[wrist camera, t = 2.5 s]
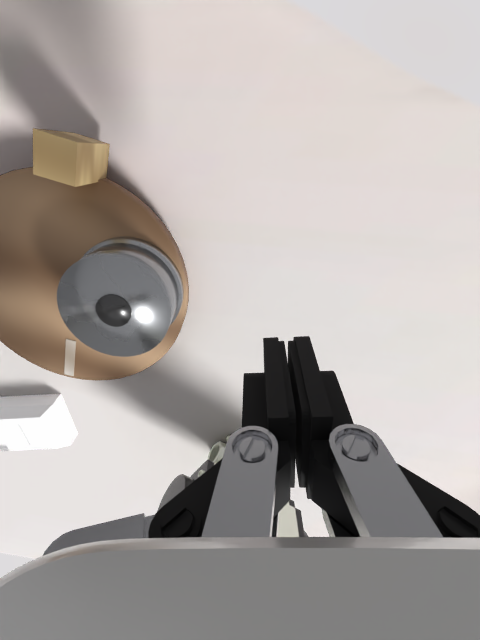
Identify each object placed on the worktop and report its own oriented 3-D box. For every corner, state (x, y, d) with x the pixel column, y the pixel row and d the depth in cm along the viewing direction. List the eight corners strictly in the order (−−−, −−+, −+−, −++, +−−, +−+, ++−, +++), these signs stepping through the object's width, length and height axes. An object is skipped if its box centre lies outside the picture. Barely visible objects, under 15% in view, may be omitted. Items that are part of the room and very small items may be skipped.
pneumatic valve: (269, 485, 34) (280, 636, 23) (174, 437, 31) (136, 588, 20) (304, 456, 32) (333, 608, 21) (205, 402, 29) (181, 550, 18)
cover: (96, 334, 23) (73, 363, 20) (67, 239, 20) (33, 255, 17) (190, 329, 23) (181, 358, 20) (175, 232, 20) (162, 248, 16)
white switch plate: (80, 430, 31) (66, 452, 29) (-9, 434, 32) (-30, 456, 29) (63, 390, 29) (47, 411, 27) (-33, 395, 29) (-57, 416, 27)
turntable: (167, 389, 27) (156, 425, 23) (-22, 344, 25) (-66, 376, 21) (218, 179, 19) (212, 185, 16) (-48, 93, 17) (-123, 79, 14)
